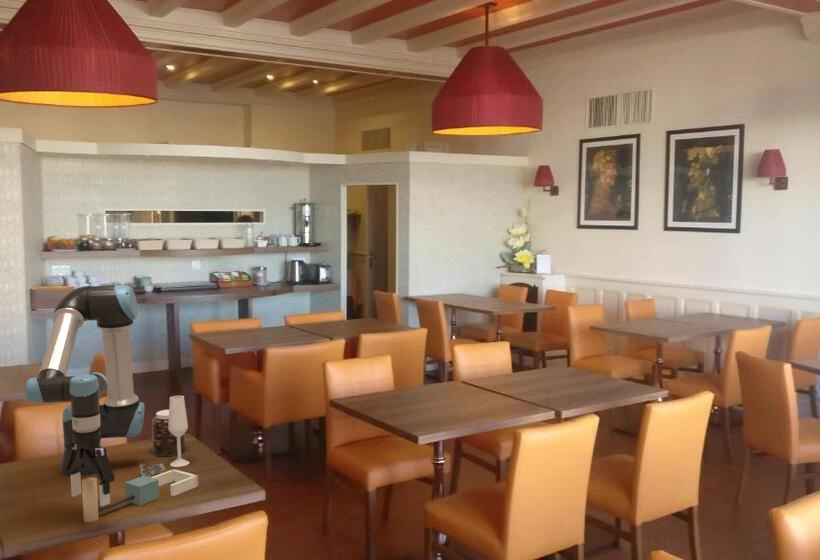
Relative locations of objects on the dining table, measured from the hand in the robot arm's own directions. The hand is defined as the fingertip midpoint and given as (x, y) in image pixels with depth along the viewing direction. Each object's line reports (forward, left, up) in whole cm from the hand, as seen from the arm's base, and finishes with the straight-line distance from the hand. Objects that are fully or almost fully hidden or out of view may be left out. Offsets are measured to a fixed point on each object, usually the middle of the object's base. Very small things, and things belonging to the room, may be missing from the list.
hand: (90, 499), depth 227 cm
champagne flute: (-17, +47, -6) cm, 50 cm away
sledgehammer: (0, +9, -6) cm, 11 cm away
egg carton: (-14, +33, -6) cm, 36 cm away
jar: (-31, +54, -6) cm, 62 cm away
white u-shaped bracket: (0, +30, -6) cm, 30 cm away
